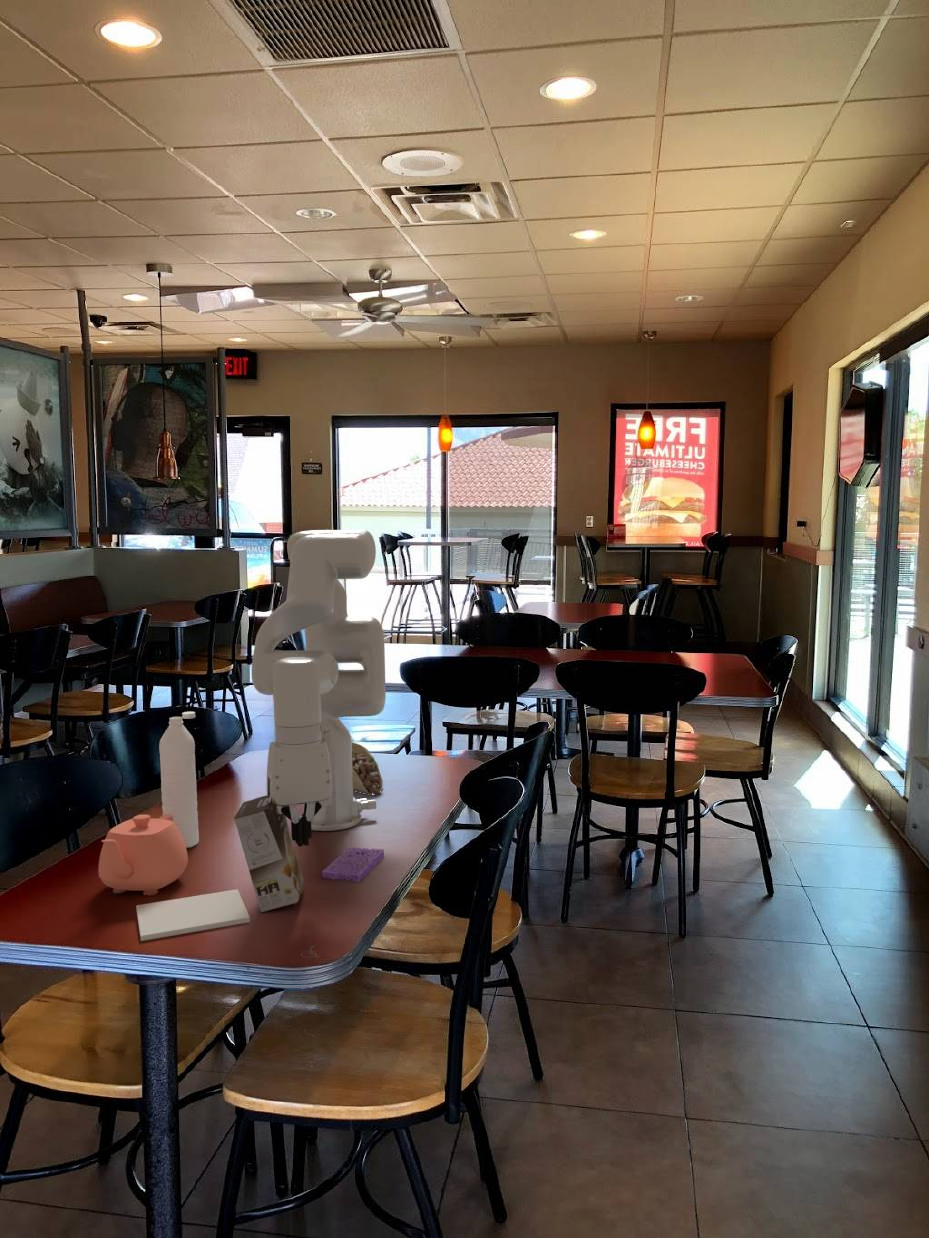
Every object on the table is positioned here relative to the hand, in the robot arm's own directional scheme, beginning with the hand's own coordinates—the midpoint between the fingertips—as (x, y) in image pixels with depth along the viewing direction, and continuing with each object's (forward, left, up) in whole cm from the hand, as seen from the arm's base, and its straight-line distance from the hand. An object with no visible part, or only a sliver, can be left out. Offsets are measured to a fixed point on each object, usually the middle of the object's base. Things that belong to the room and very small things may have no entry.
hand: (301, 843), depth 151 cm
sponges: (-11, -10, -10) cm, 18 cm away
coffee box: (+3, 0, -9) cm, 9 cm away
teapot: (+24, -16, -10) cm, 31 cm away
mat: (+18, 0, -9) cm, 20 cm away
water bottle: (+15, -36, -9) cm, 40 cm away
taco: (-22, -62, -10) cm, 66 cm away
